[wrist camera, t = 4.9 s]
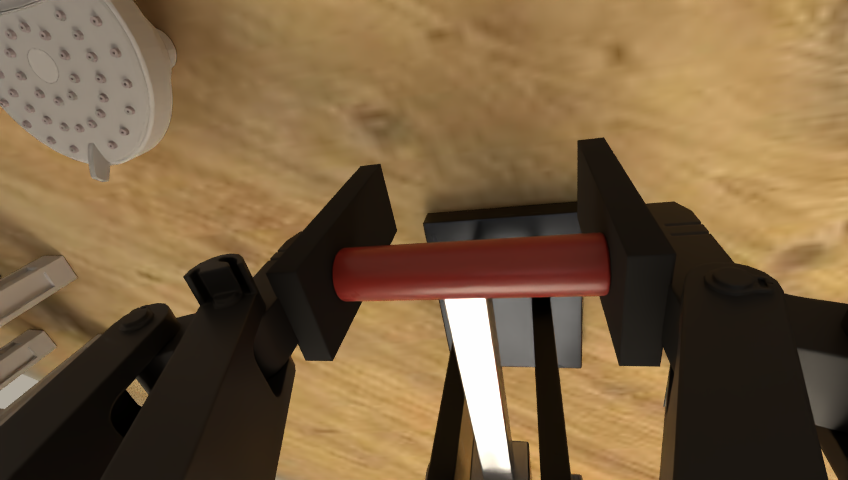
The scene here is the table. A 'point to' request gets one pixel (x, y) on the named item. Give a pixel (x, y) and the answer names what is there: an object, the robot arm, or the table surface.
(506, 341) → the tap mount
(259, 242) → the table surface
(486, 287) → the tap lever
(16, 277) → the stool
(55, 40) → the showerhead
